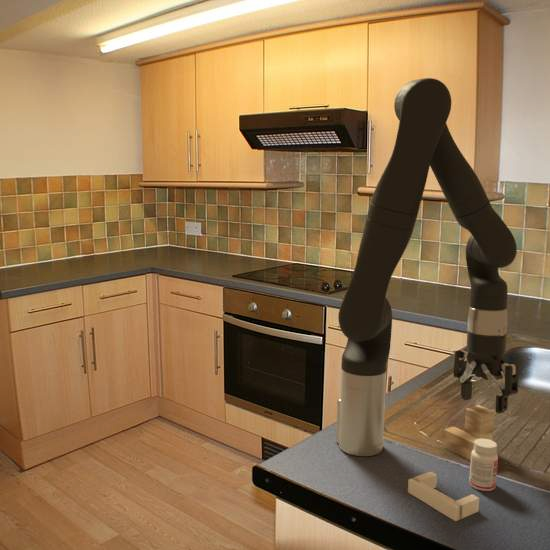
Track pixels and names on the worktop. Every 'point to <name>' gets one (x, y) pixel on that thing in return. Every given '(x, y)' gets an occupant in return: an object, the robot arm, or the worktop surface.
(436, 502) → the bay
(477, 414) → the scraper
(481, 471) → the pill bottle
